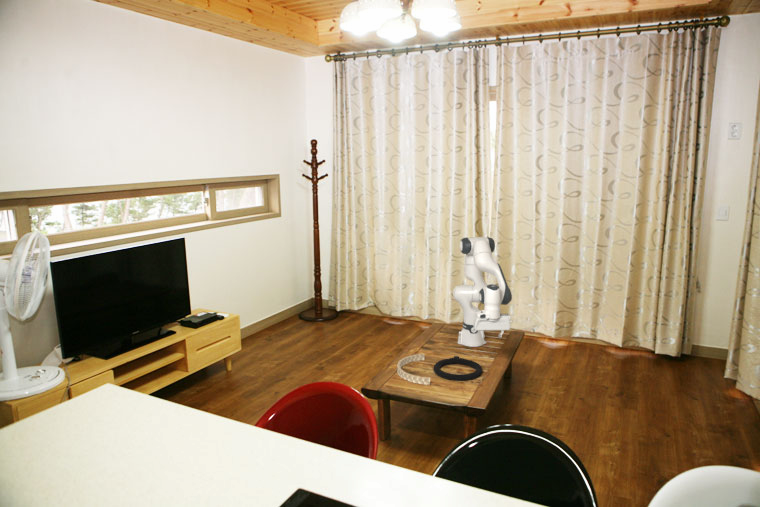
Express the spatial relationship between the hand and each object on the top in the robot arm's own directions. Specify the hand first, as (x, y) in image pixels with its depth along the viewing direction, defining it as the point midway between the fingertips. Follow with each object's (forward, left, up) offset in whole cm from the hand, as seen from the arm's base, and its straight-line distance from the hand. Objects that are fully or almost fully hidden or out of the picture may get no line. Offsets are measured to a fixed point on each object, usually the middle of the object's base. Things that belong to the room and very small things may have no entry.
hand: (491, 337), depth 293 cm
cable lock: (0, -19, -20) cm, 28 cm away
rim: (0, -45, -20) cm, 49 cm away
